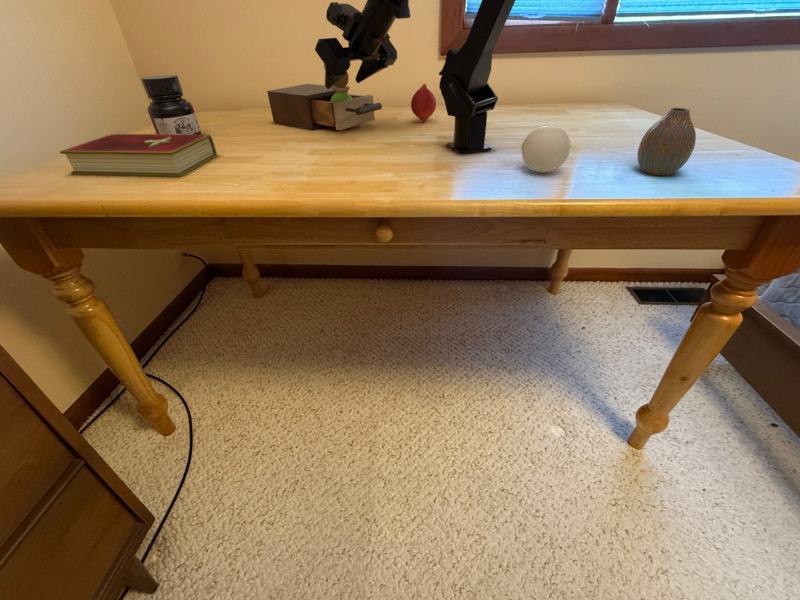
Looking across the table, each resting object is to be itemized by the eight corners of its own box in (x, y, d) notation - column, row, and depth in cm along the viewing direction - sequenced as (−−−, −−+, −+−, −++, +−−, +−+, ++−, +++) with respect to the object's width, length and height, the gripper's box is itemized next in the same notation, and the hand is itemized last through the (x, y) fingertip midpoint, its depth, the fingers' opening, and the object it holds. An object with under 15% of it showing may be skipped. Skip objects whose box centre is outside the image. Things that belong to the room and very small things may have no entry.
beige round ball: (540, 161, 65) (547, 118, 61) (573, 173, 60) (584, 127, 56) (508, 168, 62) (514, 124, 58) (540, 181, 57) (549, 134, 53)
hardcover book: (121, 154, 77) (111, 132, 74) (217, 155, 74) (210, 132, 71) (72, 174, 67) (58, 149, 65) (180, 176, 64) (170, 150, 62)
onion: (408, 123, 90) (407, 85, 85) (414, 118, 94) (414, 81, 90) (432, 124, 89) (433, 85, 84) (437, 119, 93) (438, 81, 88)
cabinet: (350, 119, 96) (347, 87, 91) (312, 130, 88) (306, 95, 84) (312, 113, 103) (307, 83, 99) (273, 122, 95) (266, 90, 91)
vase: (682, 182, 55) (709, 116, 50) (629, 174, 58) (649, 111, 53) (683, 168, 60) (708, 106, 55) (634, 162, 63) (654, 103, 58)
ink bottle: (163, 146, 80) (138, 81, 73) (152, 139, 86) (128, 77, 79) (209, 137, 85) (190, 75, 78) (196, 131, 91) (177, 72, 84)
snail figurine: (337, 114, 91) (330, 55, 84) (359, 116, 89) (354, 55, 81) (323, 119, 88) (314, 57, 80) (346, 121, 85) (339, 58, 78)
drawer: (389, 122, 88) (388, 96, 85) (354, 133, 81) (351, 105, 78) (335, 114, 97) (332, 90, 94) (300, 123, 90) (295, 98, 87)
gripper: (383, -16, 77) (350, 49, 89) (312, -18, 65) (286, 57, 78) (415, 31, 77) (378, 89, 90) (350, 37, 66) (318, 103, 78)
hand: (342, 84), depth 84 cm, fingers open, 9 cm apart
